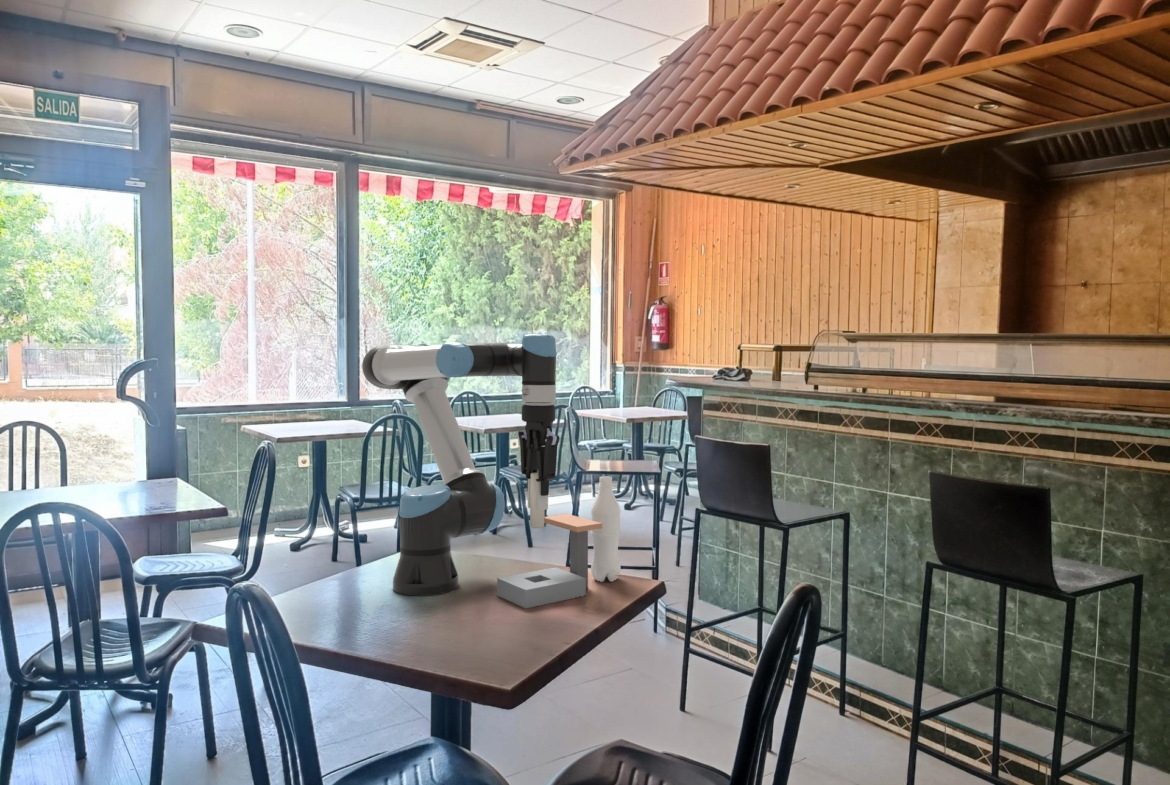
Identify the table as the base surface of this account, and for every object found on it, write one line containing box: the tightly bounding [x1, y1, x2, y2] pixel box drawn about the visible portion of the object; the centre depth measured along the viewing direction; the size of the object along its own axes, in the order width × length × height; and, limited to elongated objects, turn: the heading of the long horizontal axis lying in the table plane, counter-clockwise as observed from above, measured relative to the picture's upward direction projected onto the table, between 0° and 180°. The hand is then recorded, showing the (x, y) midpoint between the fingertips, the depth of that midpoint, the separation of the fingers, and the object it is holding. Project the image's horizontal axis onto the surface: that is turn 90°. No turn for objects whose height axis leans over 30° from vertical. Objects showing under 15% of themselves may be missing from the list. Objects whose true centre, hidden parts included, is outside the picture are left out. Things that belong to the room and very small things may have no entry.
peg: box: [529, 473, 546, 529], centre depth 182 cm, size 3×3×12 cm
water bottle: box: [590, 475, 621, 583], centre depth 197 cm, size 7×7×25 cm
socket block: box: [496, 566, 587, 609], centre depth 184 cm, size 12×16×4 cm
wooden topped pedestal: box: [544, 513, 602, 589], centre depth 188 cm, size 14×7×16 cm, turn 36°
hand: (537, 508), depth 182 cm, fingers closed on peg, 3 cm apart
